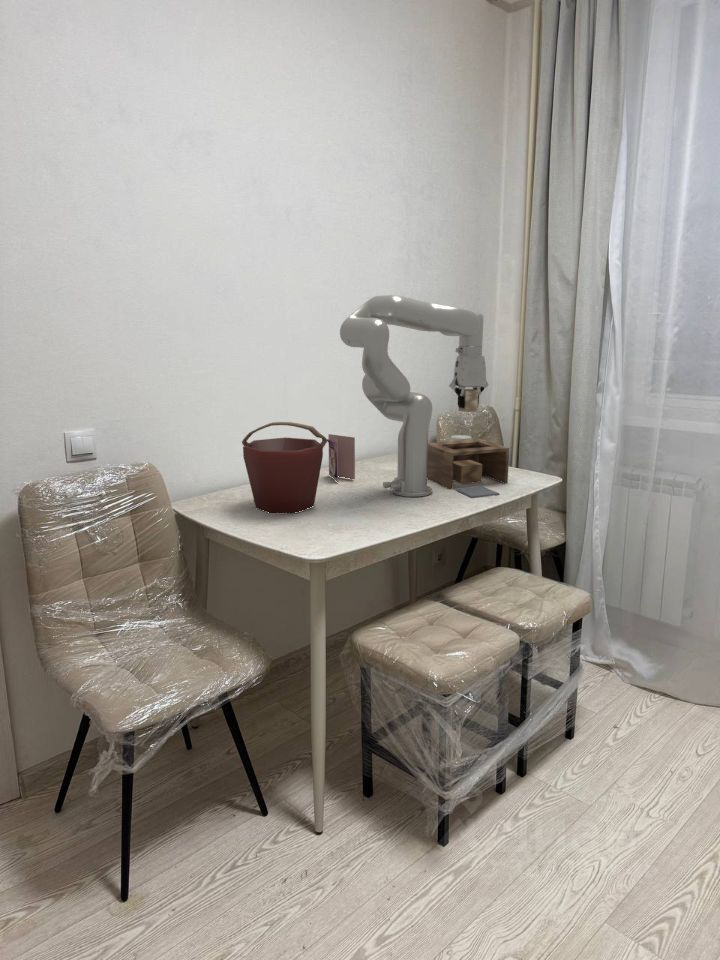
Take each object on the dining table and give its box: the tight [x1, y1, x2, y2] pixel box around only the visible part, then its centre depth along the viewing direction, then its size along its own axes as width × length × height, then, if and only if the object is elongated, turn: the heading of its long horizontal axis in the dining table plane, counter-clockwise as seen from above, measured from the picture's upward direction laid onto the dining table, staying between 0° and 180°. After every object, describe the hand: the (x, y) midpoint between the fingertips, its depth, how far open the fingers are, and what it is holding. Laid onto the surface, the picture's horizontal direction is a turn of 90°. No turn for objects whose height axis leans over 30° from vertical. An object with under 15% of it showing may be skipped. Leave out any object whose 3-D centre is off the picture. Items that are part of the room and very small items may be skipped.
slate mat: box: [455, 485, 500, 499], centre depth 212 cm, size 10×10×1 cm
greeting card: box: [326, 433, 356, 483], centre depth 228 cm, size 11×7×15 cm, turn 18°
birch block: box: [458, 388, 479, 413], centre depth 221 cm, size 4×4×7 cm
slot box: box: [427, 438, 510, 490], centre depth 226 cm, size 22×18×12 cm
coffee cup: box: [449, 434, 473, 441], centre depth 243 cm, size 8×8×12 cm
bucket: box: [241, 421, 329, 514], centre depth 193 cm, size 24×22×25 cm
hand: (468, 406), depth 221 cm, fingers closed on birch block, 4 cm apart
